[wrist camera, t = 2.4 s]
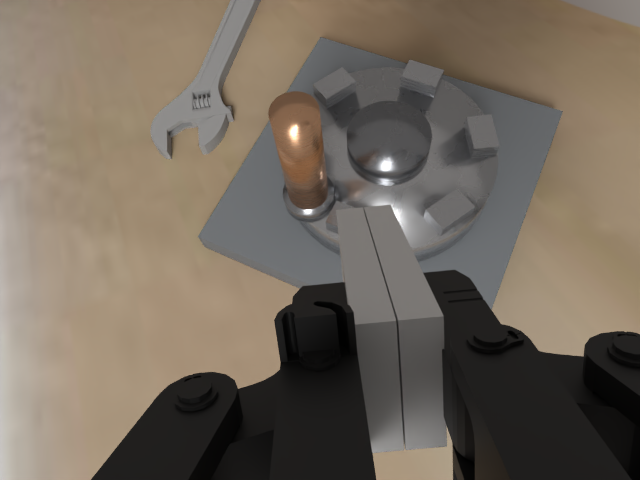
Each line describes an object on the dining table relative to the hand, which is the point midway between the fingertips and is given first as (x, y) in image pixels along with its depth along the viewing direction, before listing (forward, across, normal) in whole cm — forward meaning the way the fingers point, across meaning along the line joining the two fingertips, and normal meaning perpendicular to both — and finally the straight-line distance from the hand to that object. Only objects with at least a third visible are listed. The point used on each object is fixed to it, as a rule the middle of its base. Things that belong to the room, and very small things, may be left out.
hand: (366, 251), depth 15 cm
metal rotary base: (+27, +4, -4) cm, 27 cm away
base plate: (+28, +4, -6) cm, 29 cm away
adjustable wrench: (+40, -9, +5) cm, 41 cm away
